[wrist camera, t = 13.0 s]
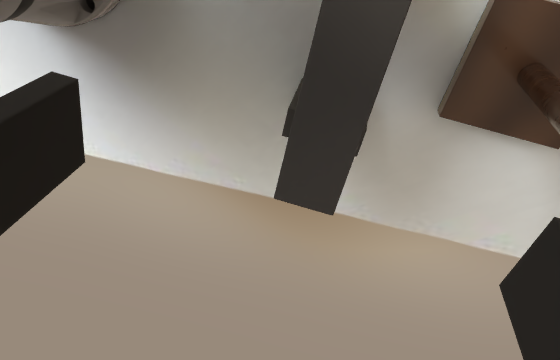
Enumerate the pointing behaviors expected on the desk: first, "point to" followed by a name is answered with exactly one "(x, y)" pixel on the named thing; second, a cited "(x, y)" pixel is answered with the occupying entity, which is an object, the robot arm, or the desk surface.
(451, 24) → the desk surface
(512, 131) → the stand
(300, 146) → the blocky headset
